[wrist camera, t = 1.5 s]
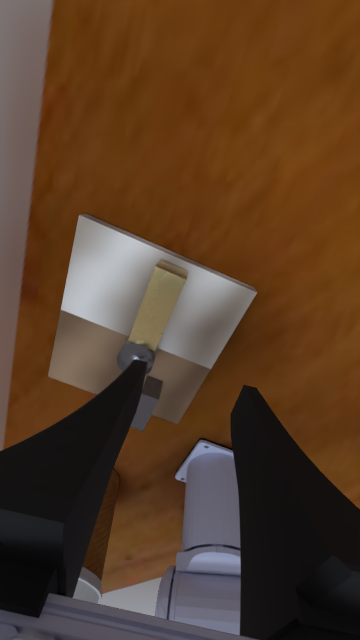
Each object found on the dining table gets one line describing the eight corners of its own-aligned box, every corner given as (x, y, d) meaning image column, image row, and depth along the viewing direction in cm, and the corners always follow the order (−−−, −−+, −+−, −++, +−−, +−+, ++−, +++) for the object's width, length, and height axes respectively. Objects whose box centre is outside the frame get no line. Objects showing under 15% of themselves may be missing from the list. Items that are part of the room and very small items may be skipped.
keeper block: (163, 381, 23) (158, 400, 21) (148, 411, 25) (142, 431, 23) (147, 375, 23) (141, 393, 21) (133, 405, 25) (126, 425, 23)
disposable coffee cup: (78, 442, 30) (8, 575, 20) (144, 473, 32) (113, 612, 21) (54, 477, 34) (-15, 603, 24) (113, 503, 36) (74, 632, 25)
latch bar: (152, 362, 22) (145, 382, 19) (122, 351, 21) (112, 369, 19) (192, 273, 18) (190, 284, 15) (156, 257, 17) (149, 266, 15)
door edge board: (254, 287, 19) (257, 292, 18) (178, 415, 26) (177, 424, 25) (86, 213, 18) (79, 214, 17) (54, 368, 25) (47, 376, 24)
